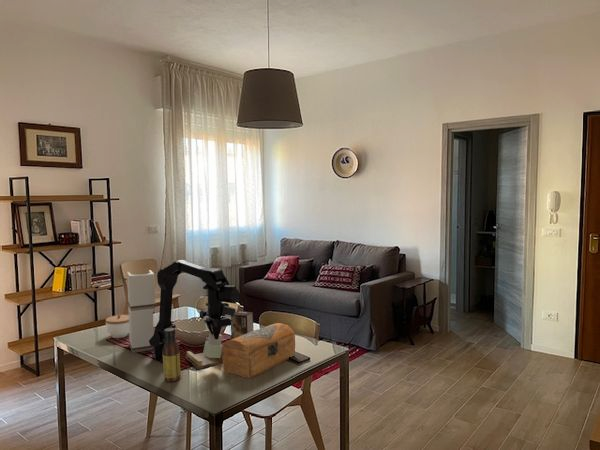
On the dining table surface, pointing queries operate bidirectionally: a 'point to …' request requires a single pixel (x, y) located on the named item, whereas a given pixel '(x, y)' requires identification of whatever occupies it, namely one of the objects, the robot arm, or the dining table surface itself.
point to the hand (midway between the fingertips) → (215, 338)
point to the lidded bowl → (118, 325)
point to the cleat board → (203, 359)
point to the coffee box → (241, 323)
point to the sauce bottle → (171, 356)
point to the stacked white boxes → (141, 310)
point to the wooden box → (258, 350)
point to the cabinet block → (213, 347)
